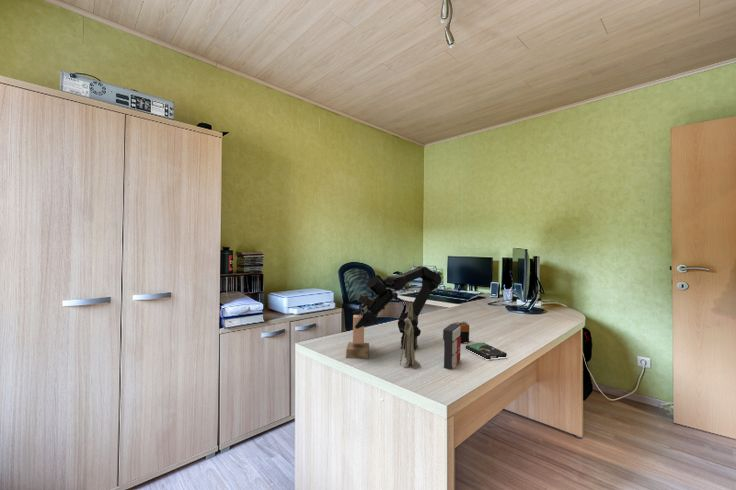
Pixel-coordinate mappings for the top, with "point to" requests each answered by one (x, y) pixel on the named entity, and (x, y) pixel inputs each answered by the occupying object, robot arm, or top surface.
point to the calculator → (451, 345)
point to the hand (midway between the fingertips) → (355, 326)
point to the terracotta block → (357, 331)
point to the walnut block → (357, 350)
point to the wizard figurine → (409, 340)
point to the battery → (464, 331)
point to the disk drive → (485, 350)
